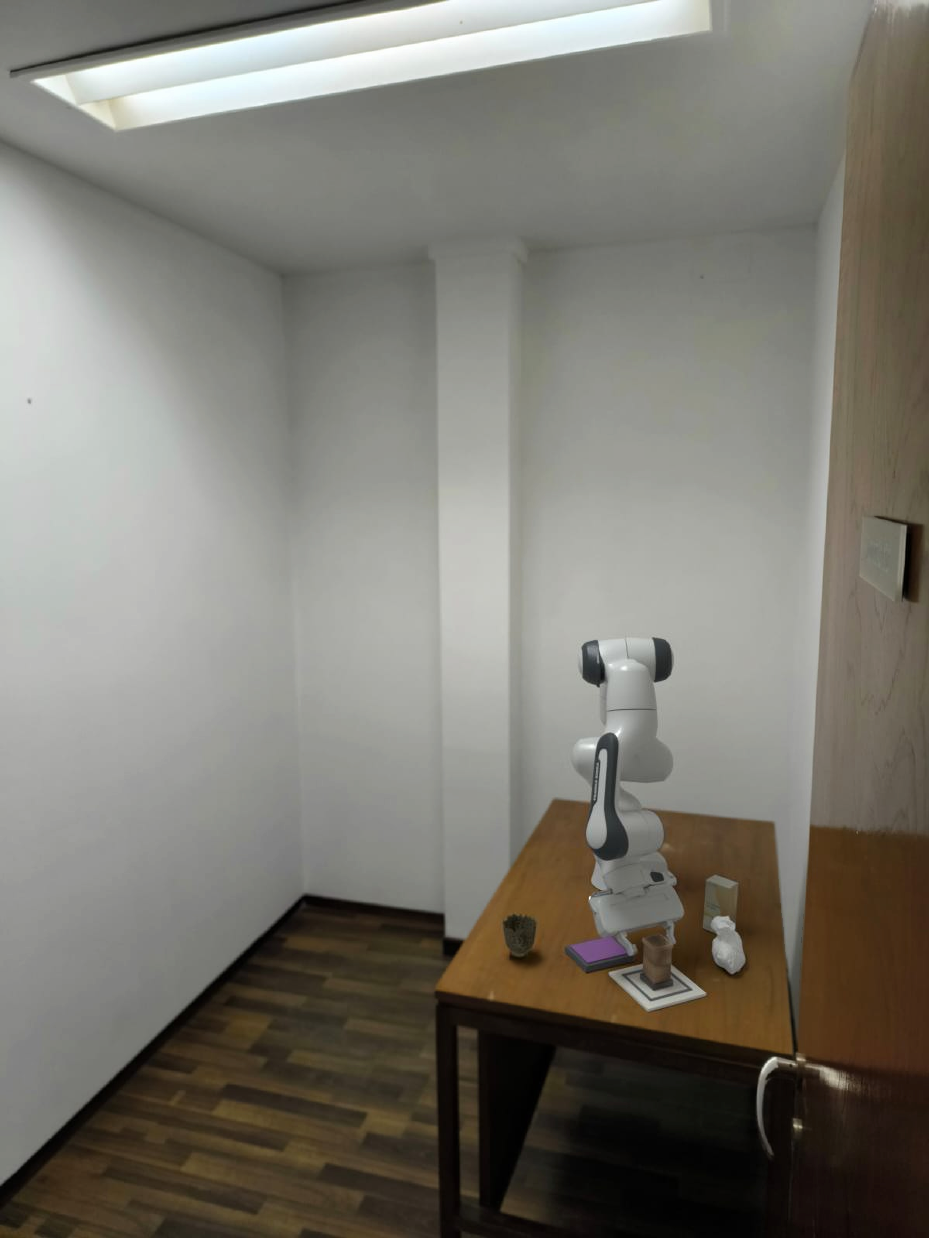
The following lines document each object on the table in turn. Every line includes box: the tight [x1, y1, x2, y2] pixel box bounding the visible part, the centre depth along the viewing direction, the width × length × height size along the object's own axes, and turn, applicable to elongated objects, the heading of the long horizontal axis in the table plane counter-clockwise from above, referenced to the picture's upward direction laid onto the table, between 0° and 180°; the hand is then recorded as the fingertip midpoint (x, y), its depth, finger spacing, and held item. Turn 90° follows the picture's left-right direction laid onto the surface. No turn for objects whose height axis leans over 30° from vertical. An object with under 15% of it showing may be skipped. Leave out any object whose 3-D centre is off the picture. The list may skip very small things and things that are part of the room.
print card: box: [608, 963, 707, 1013], centre depth 167 cm, size 14×14×1 cm
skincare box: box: [702, 874, 739, 935], centre depth 188 cm, size 6×4×12 cm
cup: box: [502, 913, 538, 960], centre depth 178 cm, size 8×7×8 cm
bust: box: [711, 916, 746, 975], centre depth 175 cm, size 12×8×11 cm
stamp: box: [640, 933, 674, 991], centre depth 166 cm, size 5×5×9 cm
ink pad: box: [564, 936, 635, 974], centre depth 178 cm, size 12×9×2 cm
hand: (652, 949), depth 168 cm, fingers open, 8 cm apart
